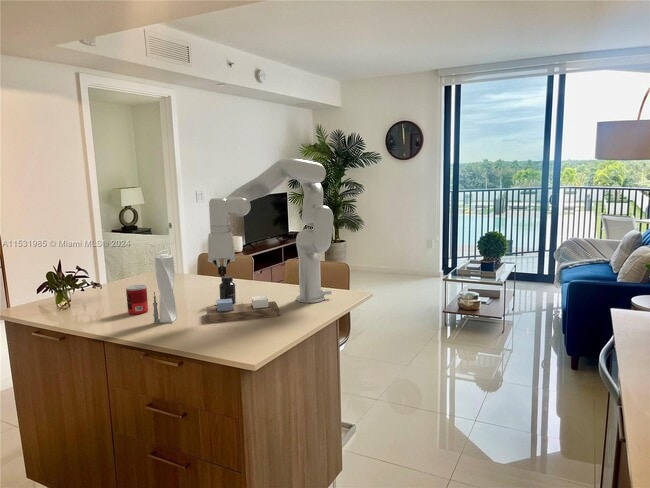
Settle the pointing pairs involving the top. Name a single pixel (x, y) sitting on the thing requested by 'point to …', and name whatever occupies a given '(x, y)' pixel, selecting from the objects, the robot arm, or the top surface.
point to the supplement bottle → (227, 289)
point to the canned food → (137, 299)
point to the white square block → (260, 302)
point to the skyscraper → (165, 289)
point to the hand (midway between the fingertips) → (222, 276)
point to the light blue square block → (224, 305)
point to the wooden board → (242, 312)
